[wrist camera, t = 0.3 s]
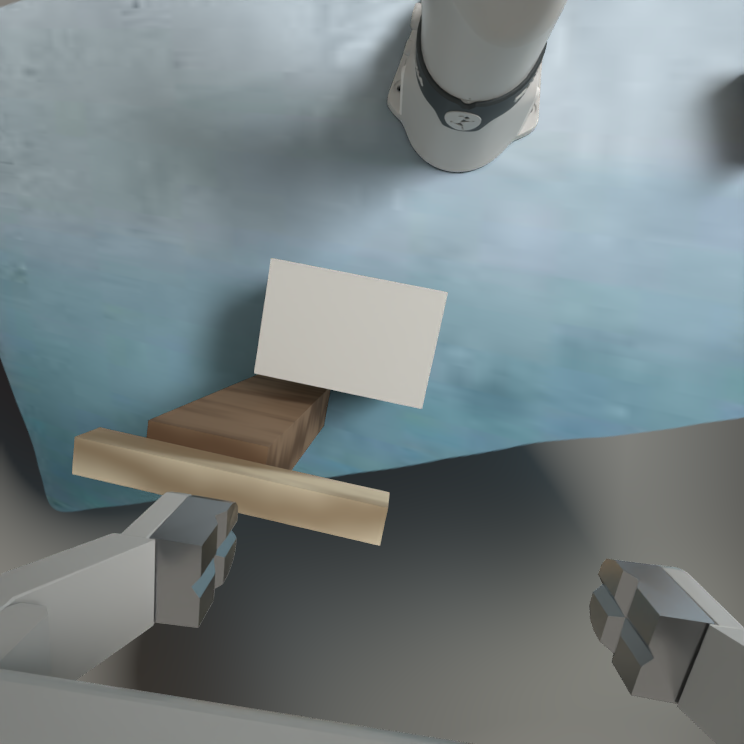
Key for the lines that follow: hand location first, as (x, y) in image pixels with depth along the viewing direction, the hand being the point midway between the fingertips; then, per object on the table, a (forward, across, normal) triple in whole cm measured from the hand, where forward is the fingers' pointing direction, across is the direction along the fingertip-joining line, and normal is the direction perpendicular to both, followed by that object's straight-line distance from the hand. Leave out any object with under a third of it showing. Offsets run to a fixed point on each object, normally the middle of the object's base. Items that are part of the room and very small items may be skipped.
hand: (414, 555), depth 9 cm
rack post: (+47, +13, +13) cm, 50 cm away
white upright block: (+47, +4, +1) cm, 48 cm away
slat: (+21, +11, +11) cm, 26 cm away
